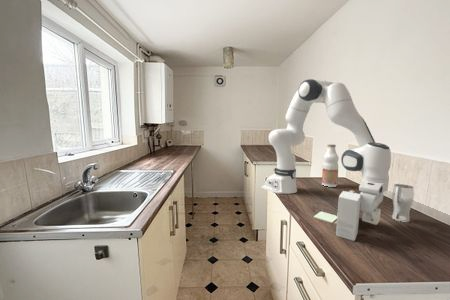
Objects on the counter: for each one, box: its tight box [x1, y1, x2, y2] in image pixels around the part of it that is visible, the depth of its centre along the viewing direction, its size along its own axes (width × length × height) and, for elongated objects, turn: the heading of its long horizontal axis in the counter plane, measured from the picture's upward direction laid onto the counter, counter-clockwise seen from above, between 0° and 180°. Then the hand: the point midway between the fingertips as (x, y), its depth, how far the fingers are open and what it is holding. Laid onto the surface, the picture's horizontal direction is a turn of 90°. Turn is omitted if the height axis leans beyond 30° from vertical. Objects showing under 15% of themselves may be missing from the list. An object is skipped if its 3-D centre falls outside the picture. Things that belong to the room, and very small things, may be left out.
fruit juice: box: [321, 143, 340, 188], centre depth 142 cm, size 9×9×28 cm
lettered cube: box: [361, 207, 382, 226], centre depth 86 cm, size 5×5×5 cm
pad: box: [313, 211, 337, 224], centre depth 96 cm, size 8×8×1 cm
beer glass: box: [391, 183, 415, 223], centre depth 92 cm, size 7×7×15 cm
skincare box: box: [335, 190, 361, 242], centre depth 80 cm, size 8×7×16 cm
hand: (371, 216), depth 87 cm, fingers closed on lettered cube, 5 cm apart
